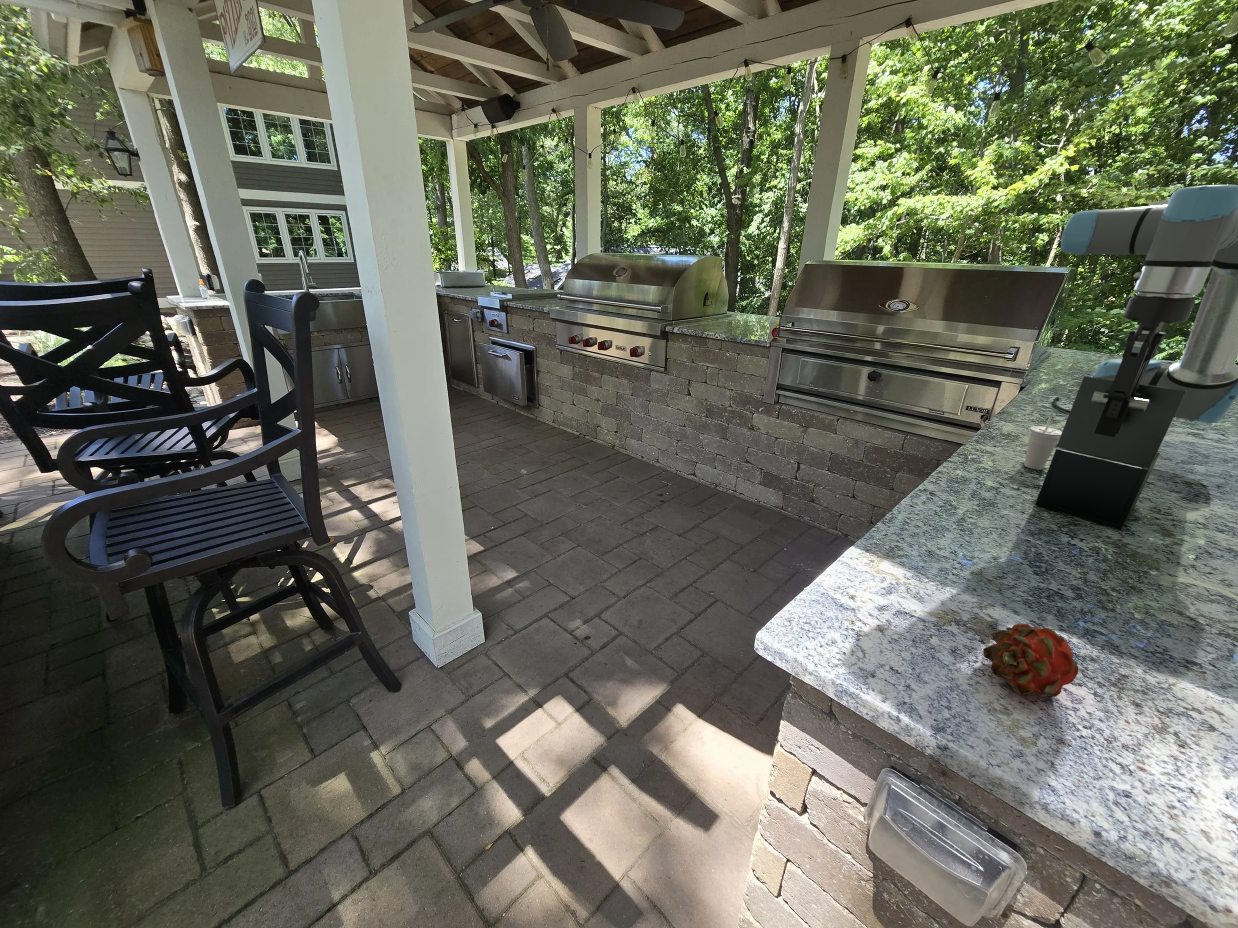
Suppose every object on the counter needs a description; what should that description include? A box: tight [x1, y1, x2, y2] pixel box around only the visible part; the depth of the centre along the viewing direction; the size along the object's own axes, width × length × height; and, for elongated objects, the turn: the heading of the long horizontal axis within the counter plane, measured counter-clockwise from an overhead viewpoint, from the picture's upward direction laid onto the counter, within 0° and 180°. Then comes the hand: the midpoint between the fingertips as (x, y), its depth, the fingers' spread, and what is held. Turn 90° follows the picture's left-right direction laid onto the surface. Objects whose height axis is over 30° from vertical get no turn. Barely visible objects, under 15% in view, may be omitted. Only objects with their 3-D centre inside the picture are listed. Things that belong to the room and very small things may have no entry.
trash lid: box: [1056, 375, 1186, 468], centre depth 91 cm, size 14×14×9 cm
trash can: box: [1034, 447, 1160, 531], centre depth 103 cm, size 14×14×13 cm
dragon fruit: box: [983, 623, 1079, 698], centre depth 62 cm, size 8×8×12 cm
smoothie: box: [1023, 411, 1063, 471], centre depth 122 cm, size 6×6×14 cm
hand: (1106, 432), depth 89 cm, fingers closed on trash lid, 2 cm apart
